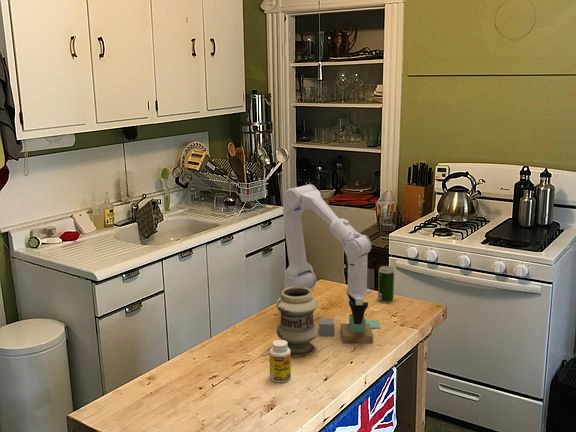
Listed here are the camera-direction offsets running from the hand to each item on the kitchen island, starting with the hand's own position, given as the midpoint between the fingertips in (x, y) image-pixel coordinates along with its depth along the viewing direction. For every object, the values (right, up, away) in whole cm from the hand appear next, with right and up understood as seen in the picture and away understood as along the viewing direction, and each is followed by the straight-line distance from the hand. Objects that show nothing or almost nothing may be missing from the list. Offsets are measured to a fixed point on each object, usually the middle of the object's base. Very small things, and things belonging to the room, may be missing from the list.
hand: (356, 318), depth 188 cm
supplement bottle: (-23, -12, -23) cm, 35 cm away
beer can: (+13, +1, +30) cm, 33 cm away
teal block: (0, -3, +1) cm, 4 cm away
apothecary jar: (-18, -8, -6) cm, 21 cm away
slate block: (-9, -5, +5) cm, 11 cm away
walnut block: (0, -6, +2) cm, 6 cm away
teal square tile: (+5, -4, +10) cm, 12 cm away
